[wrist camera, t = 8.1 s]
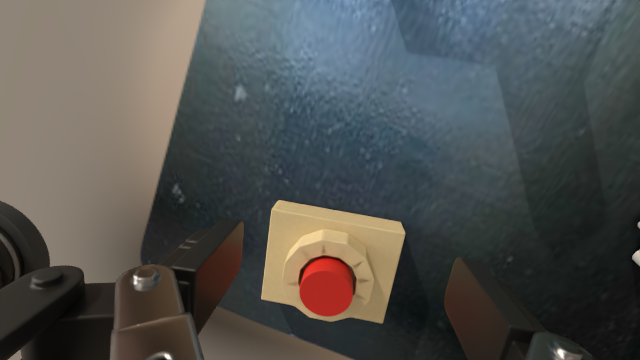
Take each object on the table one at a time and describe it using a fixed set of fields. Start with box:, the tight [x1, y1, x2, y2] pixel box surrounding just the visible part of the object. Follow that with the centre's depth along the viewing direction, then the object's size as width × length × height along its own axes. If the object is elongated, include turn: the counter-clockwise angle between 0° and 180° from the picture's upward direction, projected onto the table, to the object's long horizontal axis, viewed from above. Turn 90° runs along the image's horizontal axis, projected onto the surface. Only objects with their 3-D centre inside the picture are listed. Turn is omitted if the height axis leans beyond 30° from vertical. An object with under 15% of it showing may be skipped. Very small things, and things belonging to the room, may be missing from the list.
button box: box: [261, 200, 405, 323], centre depth 23 cm, size 10×8×4 cm
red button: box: [299, 257, 353, 317], centre depth 21 cm, size 4×4×2 cm
